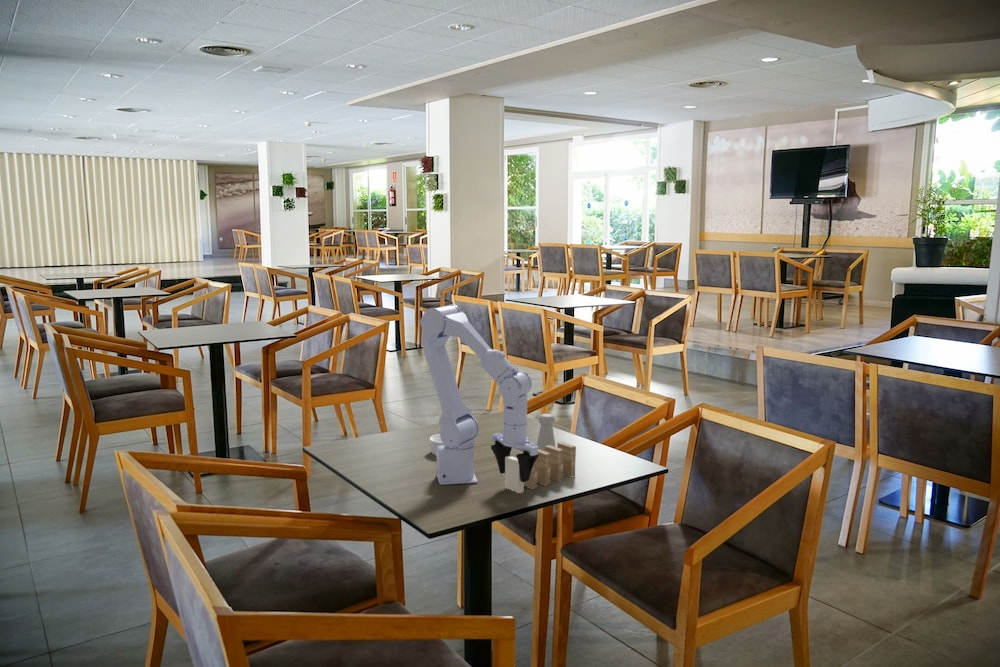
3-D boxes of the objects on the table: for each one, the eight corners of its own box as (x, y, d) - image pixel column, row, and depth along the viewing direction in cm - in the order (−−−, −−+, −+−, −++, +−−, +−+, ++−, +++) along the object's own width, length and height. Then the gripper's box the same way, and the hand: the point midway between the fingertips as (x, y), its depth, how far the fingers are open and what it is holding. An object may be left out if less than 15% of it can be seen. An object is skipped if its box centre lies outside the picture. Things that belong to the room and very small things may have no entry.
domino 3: (558, 481, 194) (558, 450, 193) (544, 476, 198) (545, 446, 197) (562, 480, 195) (563, 449, 194) (548, 474, 199) (549, 445, 198)
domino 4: (570, 477, 197) (571, 447, 196) (556, 472, 201) (557, 442, 199) (575, 476, 198) (575, 446, 197) (561, 471, 202) (561, 441, 200)
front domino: (518, 493, 185) (519, 462, 184) (504, 488, 189) (505, 456, 188) (523, 492, 186) (524, 460, 185) (509, 486, 190) (510, 455, 189)
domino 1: (532, 489, 188) (532, 458, 187) (518, 484, 192) (518, 453, 191) (536, 488, 189) (537, 456, 188) (523, 482, 193) (523, 451, 192)
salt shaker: (538, 465, 206) (539, 418, 204) (532, 458, 212) (533, 412, 209) (559, 463, 208) (560, 416, 206) (552, 457, 213) (553, 411, 211)
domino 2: (545, 485, 191) (545, 454, 190) (531, 480, 195) (532, 449, 194) (549, 484, 192) (550, 453, 191) (536, 478, 196) (536, 448, 195)
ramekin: (460, 458, 212) (460, 442, 211) (427, 457, 212) (427, 442, 211) (462, 448, 221) (462, 433, 220) (431, 447, 221) (431, 432, 220)
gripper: (548, 426, 182) (546, 481, 184) (507, 413, 193) (506, 465, 195) (526, 431, 178) (525, 487, 180) (485, 418, 188) (485, 471, 191)
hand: (514, 476), depth 187 cm, fingers open, 7 cm apart
